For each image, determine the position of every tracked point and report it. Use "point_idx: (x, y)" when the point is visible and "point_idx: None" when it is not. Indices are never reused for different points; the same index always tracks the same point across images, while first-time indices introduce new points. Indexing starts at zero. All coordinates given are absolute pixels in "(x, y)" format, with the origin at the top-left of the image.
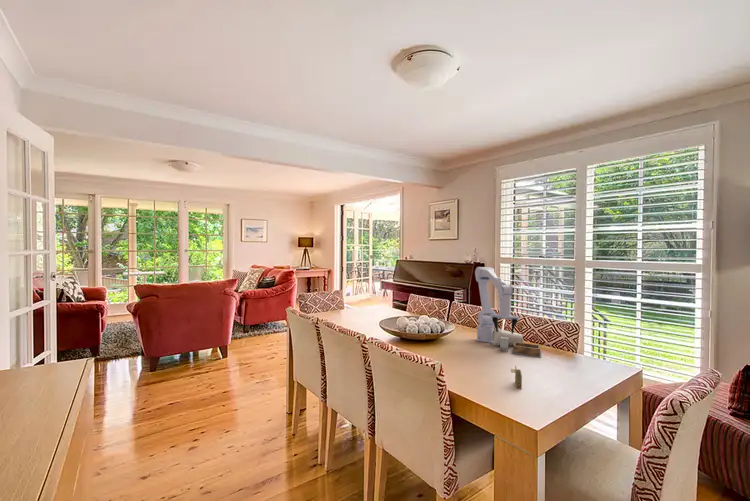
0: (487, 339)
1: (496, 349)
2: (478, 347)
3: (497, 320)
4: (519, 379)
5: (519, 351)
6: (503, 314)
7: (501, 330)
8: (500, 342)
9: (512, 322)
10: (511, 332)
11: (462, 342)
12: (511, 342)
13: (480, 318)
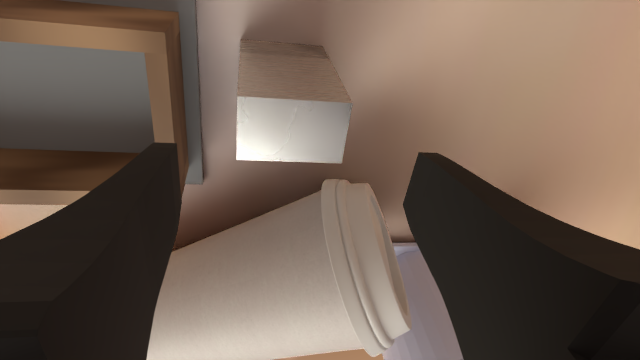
0: (422, 262)
1: (356, 80)
2: (520, 78)
3: (528, 350)
4: None
5: (99, 9)
6: None
7: (334, 319)
8: (336, 78)
9: (33, 285)
10: (170, 150)
11: (615, 170)
12: (221, 234)
13: None
